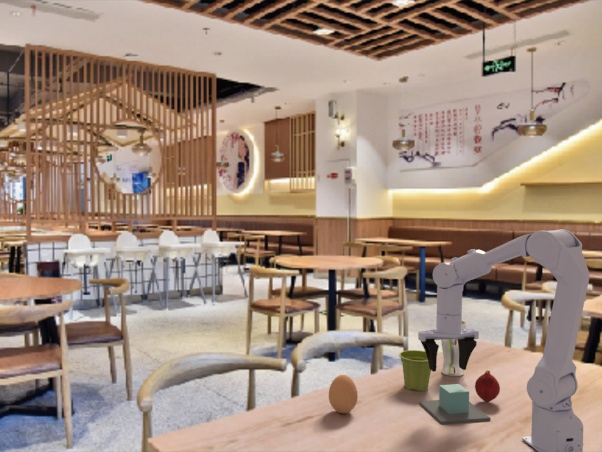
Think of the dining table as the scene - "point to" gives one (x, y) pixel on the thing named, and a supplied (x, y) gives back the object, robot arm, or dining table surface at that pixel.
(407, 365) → the plant pot
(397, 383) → the dining table surface
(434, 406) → the mat
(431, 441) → the dining table surface
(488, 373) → the onion
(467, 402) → the cube
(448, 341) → the beer glass
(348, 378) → the egg
